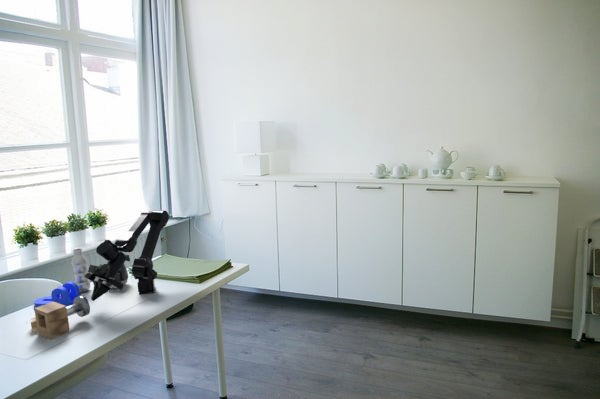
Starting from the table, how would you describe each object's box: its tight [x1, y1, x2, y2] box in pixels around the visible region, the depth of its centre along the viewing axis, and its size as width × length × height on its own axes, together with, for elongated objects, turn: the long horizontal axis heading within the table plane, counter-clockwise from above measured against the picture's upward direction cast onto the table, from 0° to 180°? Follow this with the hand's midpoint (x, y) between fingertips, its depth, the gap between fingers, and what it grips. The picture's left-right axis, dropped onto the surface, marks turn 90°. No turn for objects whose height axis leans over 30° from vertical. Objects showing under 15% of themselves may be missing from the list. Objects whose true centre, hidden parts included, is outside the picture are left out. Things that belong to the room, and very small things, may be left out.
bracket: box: [33, 280, 81, 308], centre depth 194 cm, size 18×8×9 cm, turn 80°
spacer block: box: [30, 317, 38, 333], centre depth 170 cm, size 4×4×4 cm
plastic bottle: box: [70, 248, 91, 293], centre depth 207 cm, size 6×7×20 cm
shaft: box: [66, 294, 91, 318], centre depth 171 cm, size 12×8×8 cm, turn 146°
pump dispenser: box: [106, 261, 129, 289], centre depth 212 cm, size 10×10×15 cm
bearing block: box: [33, 302, 71, 340], centre depth 166 cm, size 7×9×10 cm
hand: (92, 300), depth 178 cm, fingers closed
